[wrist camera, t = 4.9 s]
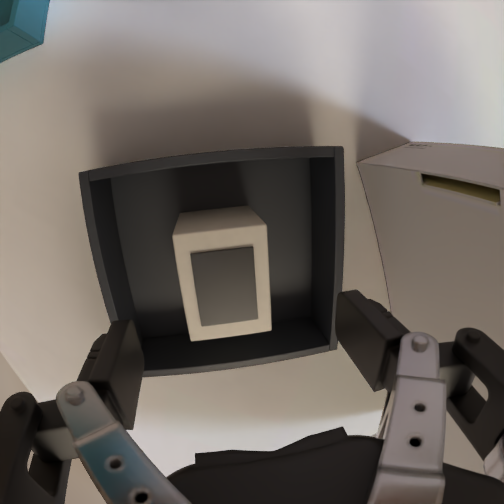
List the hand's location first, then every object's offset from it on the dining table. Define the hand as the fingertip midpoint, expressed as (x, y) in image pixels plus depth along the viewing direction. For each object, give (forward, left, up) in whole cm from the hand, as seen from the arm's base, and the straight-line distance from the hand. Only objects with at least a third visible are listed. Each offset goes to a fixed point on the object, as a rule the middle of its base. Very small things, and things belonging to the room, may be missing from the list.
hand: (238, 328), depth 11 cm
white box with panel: (0, 0, -10) cm, 10 cm away
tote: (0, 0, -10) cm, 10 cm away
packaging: (+18, -8, -10) cm, 22 cm away
